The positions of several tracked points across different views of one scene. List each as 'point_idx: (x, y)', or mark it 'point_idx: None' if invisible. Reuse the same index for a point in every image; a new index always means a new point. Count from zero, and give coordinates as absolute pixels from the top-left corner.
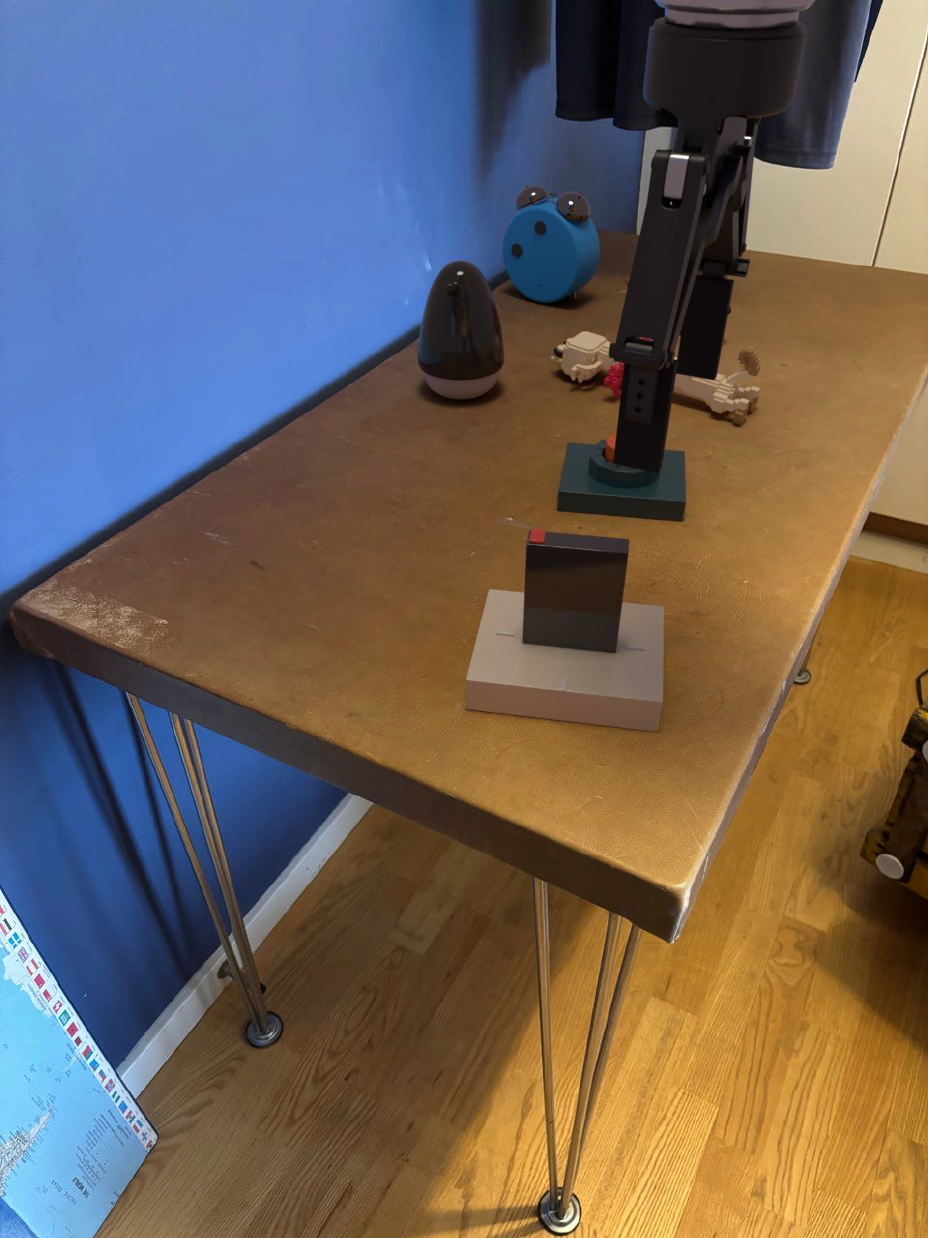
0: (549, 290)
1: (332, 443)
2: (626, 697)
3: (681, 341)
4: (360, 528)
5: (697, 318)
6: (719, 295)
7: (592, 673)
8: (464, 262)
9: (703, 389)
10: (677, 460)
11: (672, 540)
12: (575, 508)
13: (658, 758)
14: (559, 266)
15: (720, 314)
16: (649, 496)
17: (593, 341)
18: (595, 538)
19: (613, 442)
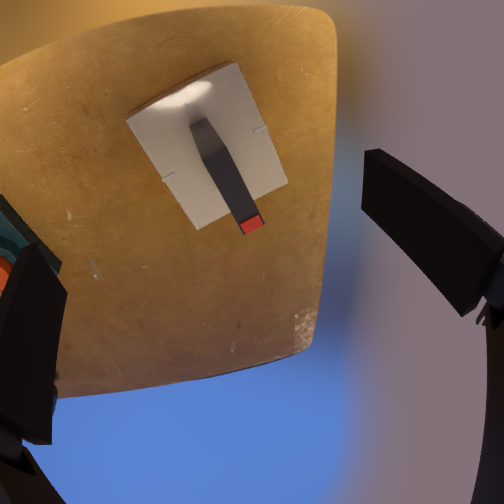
0: None
1: (128, 373)
2: (247, 85)
3: (58, 334)
4: (175, 320)
5: (38, 360)
6: (8, 387)
7: (237, 118)
8: (26, 440)
9: None
10: None
11: (23, 183)
12: (52, 255)
13: (252, 50)
14: None
15: (8, 346)
16: (10, 226)
17: None
18: (221, 184)
19: (5, 283)
